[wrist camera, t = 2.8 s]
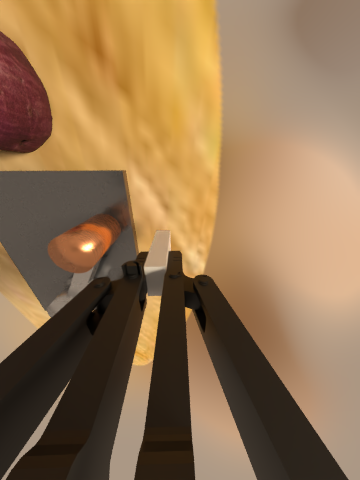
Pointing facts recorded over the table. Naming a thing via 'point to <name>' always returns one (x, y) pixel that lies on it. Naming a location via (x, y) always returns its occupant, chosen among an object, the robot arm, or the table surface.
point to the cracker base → (61, 222)
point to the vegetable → (21, 102)
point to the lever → (81, 254)
